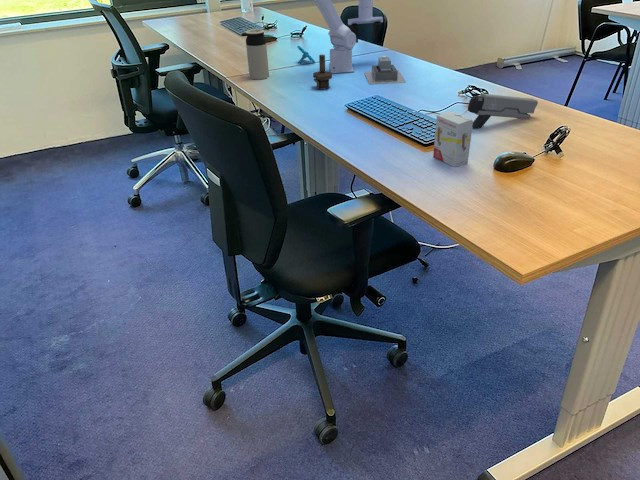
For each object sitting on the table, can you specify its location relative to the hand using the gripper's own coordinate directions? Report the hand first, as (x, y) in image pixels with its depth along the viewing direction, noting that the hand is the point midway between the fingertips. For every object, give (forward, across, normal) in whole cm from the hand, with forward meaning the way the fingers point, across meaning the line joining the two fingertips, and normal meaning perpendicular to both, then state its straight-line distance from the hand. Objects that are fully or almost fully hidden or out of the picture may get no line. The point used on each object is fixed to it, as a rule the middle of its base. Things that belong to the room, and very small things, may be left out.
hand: (365, 41), depth 218 cm
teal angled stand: (+10, -24, +12) cm, 28 cm away
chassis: (+9, +2, -22) cm, 24 cm away
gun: (+10, +20, -82) cm, 85 cm away
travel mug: (+10, -46, -5) cm, 48 cm away
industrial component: (+10, -24, -28) cm, 38 cm away
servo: (+9, +2, -22) cm, 24 cm away
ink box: (+10, -6, -103) cm, 104 cm away
